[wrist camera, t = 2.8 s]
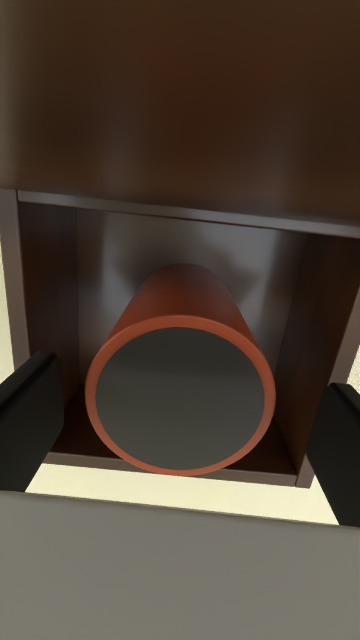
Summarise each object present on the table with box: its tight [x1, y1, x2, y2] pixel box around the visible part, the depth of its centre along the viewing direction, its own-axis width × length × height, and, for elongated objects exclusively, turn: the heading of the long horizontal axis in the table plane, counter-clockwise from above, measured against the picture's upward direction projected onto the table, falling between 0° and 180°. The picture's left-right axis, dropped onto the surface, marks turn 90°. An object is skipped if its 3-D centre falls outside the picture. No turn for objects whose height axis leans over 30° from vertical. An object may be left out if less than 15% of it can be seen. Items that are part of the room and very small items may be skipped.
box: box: [0, 188, 360, 488], centre depth 16 cm, size 13×15×7 cm
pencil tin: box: [85, 264, 276, 476], centre depth 14 cm, size 6×6×9 cm
